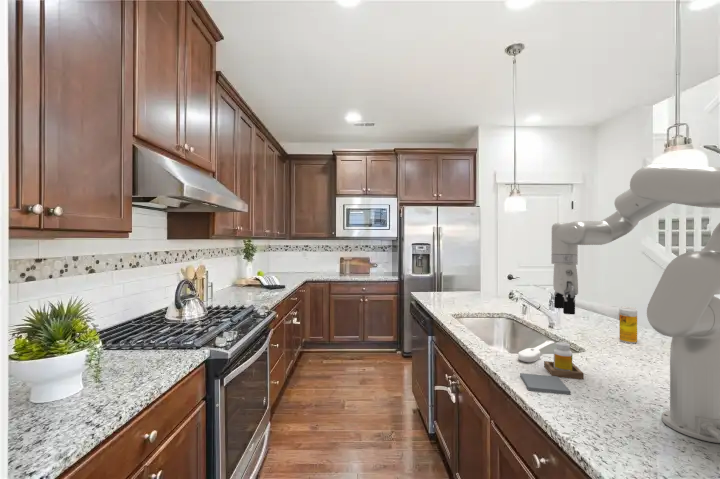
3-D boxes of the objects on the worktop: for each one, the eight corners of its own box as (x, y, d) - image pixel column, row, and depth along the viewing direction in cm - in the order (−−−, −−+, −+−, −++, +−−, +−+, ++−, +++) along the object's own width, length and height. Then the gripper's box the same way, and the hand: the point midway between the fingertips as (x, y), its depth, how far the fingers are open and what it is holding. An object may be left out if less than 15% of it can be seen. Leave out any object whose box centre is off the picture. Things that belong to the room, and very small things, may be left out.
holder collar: (583, 379, 108) (583, 373, 108) (552, 376, 110) (552, 370, 110) (572, 369, 117) (572, 363, 117) (544, 366, 119) (544, 361, 119)
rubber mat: (570, 394, 97) (570, 391, 97) (528, 390, 100) (528, 387, 100) (557, 379, 108) (557, 376, 108) (520, 376, 110) (520, 373, 110)
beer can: (616, 340, 150) (616, 306, 150) (624, 339, 153) (624, 305, 153) (632, 344, 145) (632, 309, 145) (640, 343, 147) (640, 308, 147)
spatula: (544, 346, 143) (544, 339, 143) (559, 349, 139) (559, 342, 139) (514, 360, 124) (514, 352, 124) (531, 365, 120) (531, 356, 120)
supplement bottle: (575, 376, 110) (575, 346, 110) (557, 375, 111) (557, 345, 111) (568, 370, 115) (568, 341, 115) (551, 369, 116) (551, 340, 117)
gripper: (587, 261, 104) (587, 317, 104) (568, 258, 121) (568, 306, 121) (559, 261, 106) (559, 315, 106) (544, 258, 123) (544, 305, 123)
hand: (564, 310), depth 114 cm, fingers open, 9 cm apart
